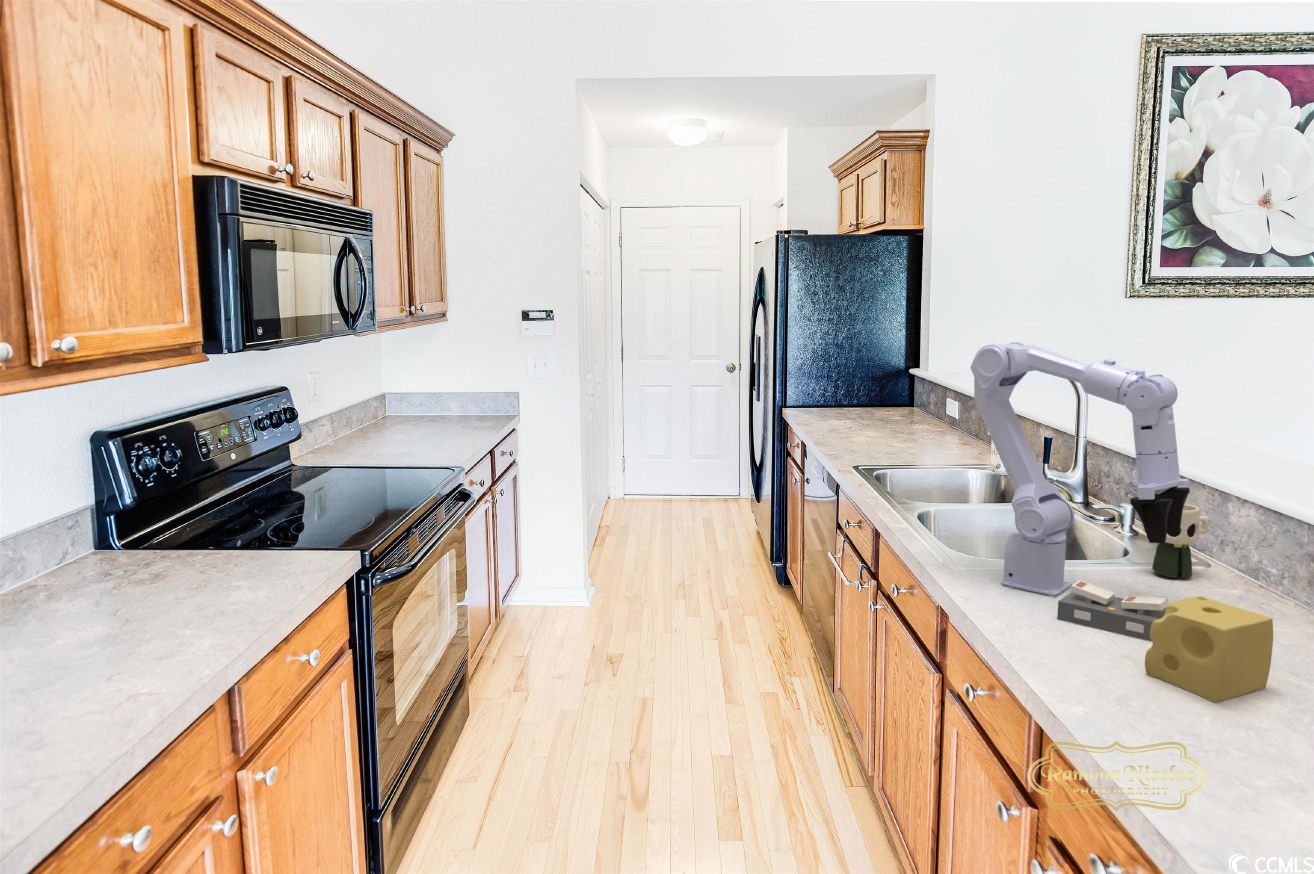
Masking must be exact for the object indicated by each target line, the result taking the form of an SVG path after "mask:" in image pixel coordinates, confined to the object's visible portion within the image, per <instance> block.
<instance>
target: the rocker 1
mask: <svg viewBox="0 0 1314 874" xmlns="http://www.w3.org/2000/svg"><path fill="white" fill-rule="evenodd" d="M1069 591H1070V593H1071V592H1073V593H1076V594H1079V595H1081V596H1084V597H1087V598H1089V599H1092V600H1095V601H1097V602H1100V603H1103V604H1105V605H1106V604H1108V603H1109V602H1110V601H1112V600H1113V599H1114V597H1116V593H1115V592H1114V591H1111V590H1107V589H1105V588H1102V587H1100V586H1097V585H1094V584H1092V583H1089V582H1086V581H1084V580H1077V581H1076V582H1074V583H1072V586H1070V590H1069Z"/></svg>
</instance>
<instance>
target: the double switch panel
mask: <svg viewBox="0 0 1314 874" xmlns="http://www.w3.org/2000/svg"><path fill="white" fill-rule="evenodd" d="M1124 599H1125V598H1124V597H1117V596H1114V599H1113V600H1112V601H1110V602H1109V603H1108V604H1106V605H1105V604H1103V603H1100V602H1097V601H1095V600H1092V599H1089V598H1087V597H1084V596H1081V595H1079V594H1076V593H1073V592H1071V591H1070V593H1068V594H1066V595H1065V596H1064V597H1062V598H1061V599H1059V600H1058V602H1057V620H1059V621H1064V622H1069V623H1072V624H1076V625H1077V624H1078V625H1080V626H1083V627H1084V626H1085V627H1090V628H1094V629H1098V630H1102V631H1106V632H1111V633H1115V634H1119V635H1124V636H1128V637H1132V638H1135V637H1136V639H1140V640H1144V641H1148V640H1149V641H1148V642H1152V640H1151V639H1150V628H1151V625H1152V623H1153V622H1154V621H1155V620H1159V619H1161V618H1162V617H1163V616H1164V615H1165V612H1166V609H1167V606H1166V607H1165V608H1164V609H1163V610H1161V611H1160V610H1144V609H1127V608H1122V607H1121V601H1123V600H1124Z"/></svg>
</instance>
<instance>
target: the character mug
mask: <svg viewBox="0 0 1314 874" xmlns="http://www.w3.org/2000/svg"><path fill="white" fill-rule="evenodd" d="M1200 509H1201V508H1199V506H1197V505H1194V504H1190V503H1185V504H1184V507H1183V512H1182V519H1181V527H1180V531H1179V534H1167V536H1166V541H1165V543H1157V545H1156V549H1155V553H1154V557H1153V560H1152V561H1153V562H1152V567H1151V568H1152V571H1153V572H1155V573H1156V574H1158V575H1161V576H1165V577H1168V578H1178V576H1180V577H1182V578H1190V577H1191V576H1192V575H1193V563H1192V551H1191V547H1190V546H1189V545H1190V544H1194V543H1196V541H1197V539H1198V538H1199V535H1200V534H1201V535H1203V534H1205V535H1206V534H1207V533H1208V531H1209V517H1208V516H1206V515H1200V513H1201V510H1200ZM1200 522H1201V528H1200ZM1142 531H1143V533H1145V534H1146V532H1145V529H1144V526H1142Z"/></svg>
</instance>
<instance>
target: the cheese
mask: <svg viewBox="0 0 1314 874" xmlns="http://www.w3.org/2000/svg"><path fill="white" fill-rule="evenodd" d="M1166 608H1167V609H1166V612H1165V615H1164V616H1163V617H1162V618H1161V619H1159V620H1155V621H1154V622H1153V623H1152V625H1151V628H1150V639H1151V640H1152V641H1151V643H1152V645H1151V647H1149V648H1148V649H1147V651H1146V653H1145V656H1144V657H1145V658H1144V668H1145V673H1146V675H1148V676H1150V677H1154V678H1155V679H1159V680H1161V681H1163V682H1167V683H1169V684H1171V685H1173V686H1177V687H1178V688H1181V689H1183V690H1186V691H1188V692H1190V693H1191V694H1194V695H1197V696H1199V697H1201V698H1203V699H1205V700H1208V701H1210V702H1213V703H1215V702H1216V703H1221V702H1223V701H1226V700H1231V699H1234V698H1236V697H1241V696H1243V695H1247V694H1249V693H1251V692H1255V691H1259V690H1262V689H1266V688H1267V683H1268V679H1269V675H1270V670H1271V664H1272V655H1273V648H1274V647H1273V644H1274V643H1273V642H1274V624H1273V623H1274V622H1273V621H1274V620H1273V618H1272V617H1270V616H1266V615H1263V614H1261V613H1257V612H1254V611H1251V610H1248V609H1244V608H1241V607H1236V606H1233V605H1230V604H1226V603H1223V602H1220V601H1217V600H1215V599H1212V598H1209V597H1207V596H1203V595H1199V596H1193V597H1184V598H1182V599H1177V600H1174V601H1172V602H1170V603H1168V605H1167V606H1166Z"/></svg>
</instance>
